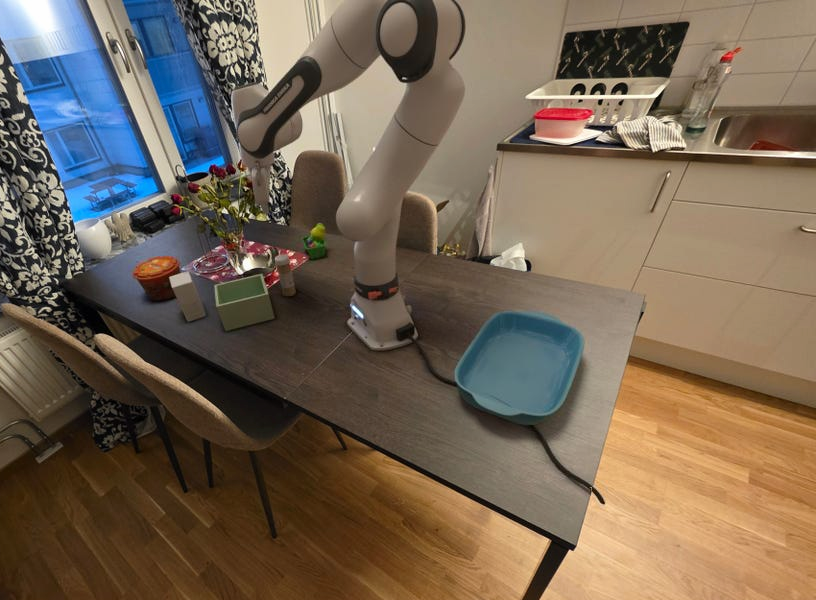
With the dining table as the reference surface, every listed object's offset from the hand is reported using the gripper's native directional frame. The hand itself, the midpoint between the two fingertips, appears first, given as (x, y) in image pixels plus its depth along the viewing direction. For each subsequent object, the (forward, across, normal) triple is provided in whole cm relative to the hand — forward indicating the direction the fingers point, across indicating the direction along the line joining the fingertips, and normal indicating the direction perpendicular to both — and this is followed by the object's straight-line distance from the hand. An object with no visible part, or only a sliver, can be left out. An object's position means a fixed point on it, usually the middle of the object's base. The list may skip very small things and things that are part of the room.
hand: (266, 206), depth 114 cm
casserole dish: (+23, -57, -56) cm, 83 cm away
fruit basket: (+29, +24, -14) cm, 41 cm away
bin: (+29, -12, +11) cm, 33 cm away
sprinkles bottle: (+29, -3, -3) cm, 29 cm away
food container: (+32, +11, +42) cm, 54 cm away
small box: (+30, -7, +29) cm, 42 cm away
